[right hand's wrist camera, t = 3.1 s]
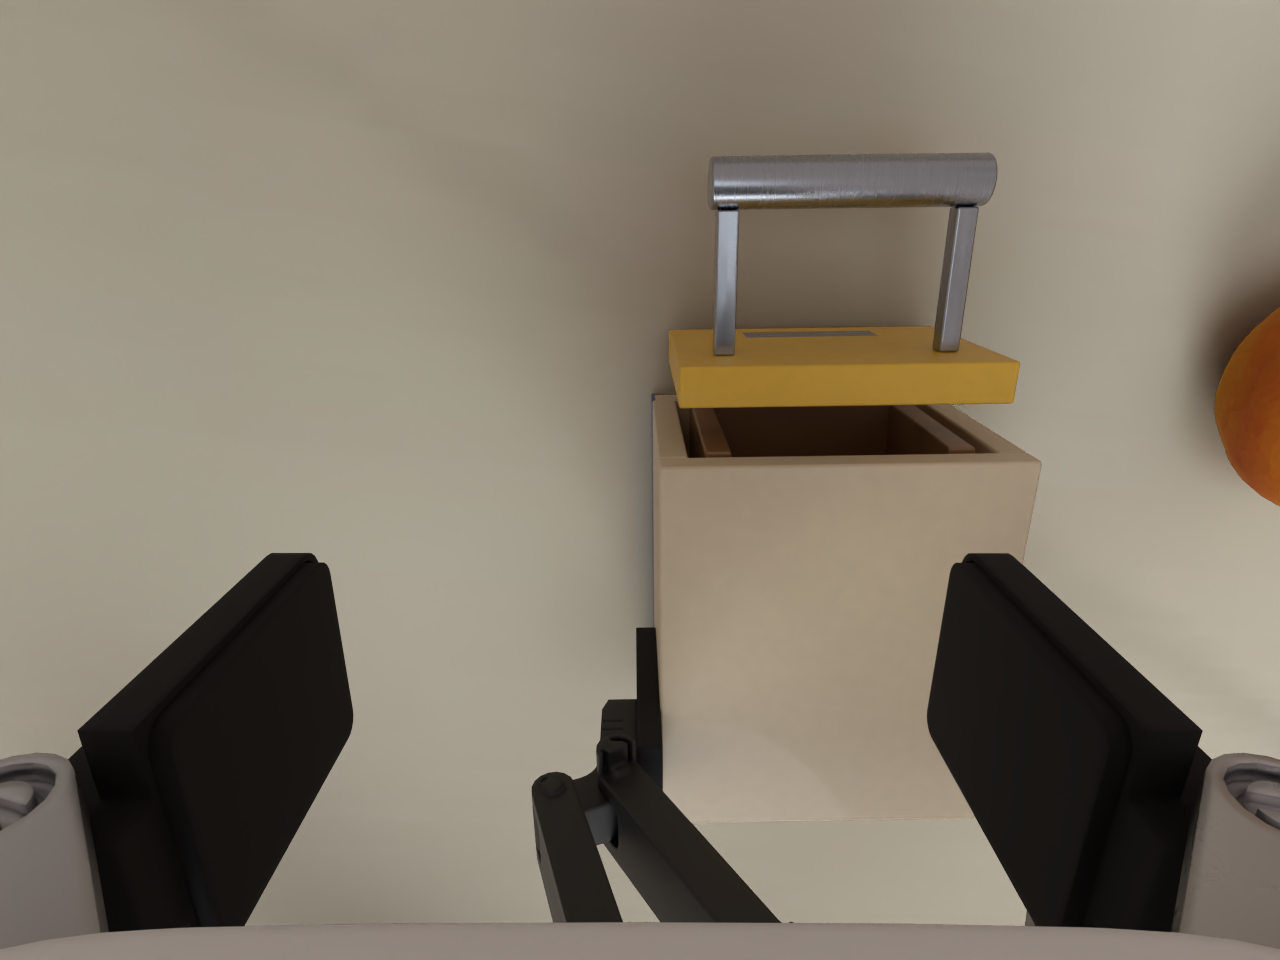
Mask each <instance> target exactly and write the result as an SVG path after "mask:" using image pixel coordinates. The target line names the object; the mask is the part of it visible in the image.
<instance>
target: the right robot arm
mask: <svg viewBox="0 0 1280 960" xmlns="http://www.w3.org/2000/svg"><path fill="white" fill-rule="evenodd" d="M352 724H353V708H352V702H351V696H350V690H349V684H348V678H347V672H346V666H345V660H344V654H343V648H342V641H341V635H340V629H339V623H338V617H337V611H336V605H335V599H334V593H333V587H332V581H331V575H330V571H329V568H328V566H327V564H325V563H318V561H317V559H316V557H315V556H314V555H313V554H312V553H271V554H269V555H268V556H266V557H265V558H264V559H263V560H262V561H261V562H260V563H259V564H258V565H257V566H255V567H254V568H253V569H252V570H251V571H250V572H249V573H248V574H247V575H246V576H245V577H244V578H242V579H241V580H240V581H239V582H238V583H237V584H236V585H235V586H234V587H233V588H232V589H231V590H229V591H228V592H227V593H226V594H225V595H224V596H223V597H222V598H221V599H220V600H219V601H218V602H216V603H215V604H214V605H213V606H212V607H211V608H210V609H209V610H208V611H207V612H206V613H205V614H203V615H202V616H201V617H200V618H199V619H198V620H197V621H196V622H195V623H194V624H193V625H191V626H190V627H189V628H188V629H187V630H186V631H185V632H184V633H183V634H182V635H181V636H180V637H178V638H177V639H176V640H175V641H174V642H173V643H172V644H171V645H170V646H169V647H168V648H167V649H165V650H164V651H163V652H162V653H161V654H160V655H159V656H158V657H157V658H156V659H155V660H154V661H152V662H151V663H150V664H149V665H148V666H147V667H146V668H145V669H144V670H143V671H142V672H141V673H139V674H138V675H137V676H136V677H135V678H134V679H133V680H132V681H131V682H130V683H129V684H127V685H126V686H125V687H124V688H123V689H122V690H121V691H120V692H119V693H118V694H117V695H116V696H114V697H113V698H112V699H111V700H110V701H109V702H108V703H107V704H106V705H105V706H104V707H103V708H101V709H100V710H99V711H98V712H97V713H96V714H95V715H94V716H93V717H92V718H91V719H90V720H88V721H87V722H86V723H85V724H84V725H83V726H82V727H81V728H80V729H79V730H78V734H79V737H80V740H81V743H82V747H81V748H80V749H79V750H78V751H76V752H75V753H74V754H73V755H72V756H71V757H70V758H69V759H66V758H63V757H61V756H59V755H56V754H46V753H32V754H25V755H18V756H12V757H8V758H5V759H1V760H0V960H1280V760H1279V759H1275V758H1272V757H1268V756H1262V755H1255V754H1248V753H1234V754H1224V755H1221V756H1219V757H1217V758H1214V759H1211V758H1210V757H1209V756H1208V755H1207V754H1206V753H1205V752H1204V751H1202V750H1201V749H1200V748H1199V747H1198V743H1199V740H1200V737H1201V734H1202V730H1201V729H1200V728H1199V727H1198V726H1197V725H1196V724H1195V723H1194V722H1193V721H1192V720H1190V719H1189V718H1188V717H1187V716H1186V715H1185V714H1184V713H1183V712H1182V711H1181V710H1180V709H1179V708H1177V707H1176V706H1175V705H1174V704H1173V703H1172V702H1171V701H1170V700H1169V699H1168V698H1167V697H1166V696H1164V695H1163V694H1162V693H1161V692H1160V691H1159V690H1158V689H1157V688H1156V687H1155V686H1154V685H1153V684H1151V683H1150V682H1149V681H1148V680H1147V679H1146V678H1145V677H1144V676H1143V675H1142V674H1141V673H1139V672H1138V671H1137V670H1136V669H1135V668H1134V667H1133V666H1132V665H1131V664H1130V663H1129V662H1128V661H1126V660H1125V659H1124V658H1123V657H1122V656H1121V655H1120V654H1119V653H1118V652H1117V651H1116V650H1115V649H1113V648H1112V647H1111V646H1110V645H1109V644H1108V643H1107V642H1106V641H1105V640H1104V639H1103V638H1102V637H1100V636H1099V635H1098V634H1097V633H1096V632H1095V631H1094V630H1093V629H1092V628H1091V627H1090V626H1089V625H1087V624H1086V623H1085V622H1084V621H1083V620H1082V619H1081V618H1080V617H1079V616H1078V615H1077V614H1075V613H1074V612H1073V611H1072V610H1071V609H1070V608H1069V607H1068V606H1067V605H1066V604H1065V603H1064V602H1062V601H1061V600H1060V599H1059V598H1058V597H1057V596H1056V595H1055V594H1054V593H1053V592H1052V591H1051V590H1049V589H1048V588H1047V587H1046V586H1045V585H1044V584H1043V583H1042V582H1041V581H1040V580H1039V579H1038V578H1036V577H1035V576H1034V575H1033V574H1032V573H1031V572H1030V571H1029V570H1028V569H1027V568H1026V567H1025V566H1023V565H1022V564H1021V563H1020V562H1019V561H1018V560H1017V559H1016V558H1015V557H1014V556H1012V555H1011V554H1009V553H968V554H967V555H966V556H965V557H964V559H963V561H962V563H955V564H953V566H952V568H951V571H950V575H949V581H948V587H947V593H946V599H945V605H944V611H943V617H942V623H941V629H940V635H939V641H938V648H937V654H936V660H935V666H934V672H933V678H932V684H931V690H930V696H929V702H928V708H927V724H928V729H929V733H930V736H931V738H932V740H933V742H934V743H935V745H936V747H937V749H938V751H939V752H940V754H941V756H942V758H943V760H944V761H945V763H946V765H947V767H948V769H949V770H950V772H951V774H952V776H953V778H954V779H955V781H956V783H957V785H958V787H959V788H960V790H961V792H962V794H963V796H964V798H965V799H966V801H967V803H968V805H969V807H970V808H971V810H972V812H973V814H974V816H975V817H976V819H977V821H978V823H979V825H980V826H981V828H982V830H983V832H984V834H985V835H986V837H987V839H988V841H989V843H990V844H991V846H992V848H993V850H994V852H995V853H996V855H997V857H998V859H999V861H1000V862H1001V864H1002V866H1003V868H1004V870H1005V871H1006V873H1007V875H1008V877H1009V879H1010V881H1011V882H1012V884H1013V886H1014V888H1015V890H1016V891H1017V893H1018V895H1019V897H1020V899H1021V900H1022V902H1023V904H1024V906H1025V908H1026V909H1027V911H1028V913H1029V915H1030V917H1031V918H1032V920H1033V922H1034V924H1035V926H992V925H943V924H875V923H676V922H605V923H405V924H337V925H288V926H245V924H246V922H247V920H248V918H249V917H250V915H251V913H252V911H253V909H254V908H255V906H256V904H257V902H258V900H259V899H260V897H261V895H262V893H263V891H264V890H265V888H266V886H267V884H268V882H269V881H270V879H271V877H272V875H273V873H274V871H275V870H276V868H277V866H278V864H279V862H280V861H281V859H282V857H283V855H284V853H285V852H286V850H287V848H288V846H289V844H290V843H291V841H292V839H293V837H294V835H295V834H296V832H297V830H298V828H299V826H300V825H301V823H302V821H303V819H304V817H305V816H306V814H307V812H308V810H309V808H310V807H311V805H312V803H313V801H314V799H315V798H316V796H317V794H318V792H319V790H320V788H321V787H322V785H323V783H324V781H325V779H326V778H327V776H328V774H329V772H330V770H331V769H332V767H333V765H334V763H335V761H336V760H337V758H338V756H339V754H340V752H341V751H342V749H343V747H344V745H345V743H346V742H347V740H348V738H349V736H350V733H351V729H352Z"/></svg>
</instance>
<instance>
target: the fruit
mask: <svg viewBox="0 0 1280 960" xmlns="http://www.w3.org/2000/svg"><path fill="white" fill-rule="evenodd" d="M1214 411H1215V419H1216V423H1217V427H1218V430H1219V433H1220V436H1221V440H1222V442H1223V445H1224V447H1225V450H1226V454H1227V457H1228V459H1229V461H1230V463H1231V465H1232V466H1233V468H1234V469H1235V471H1236V472H1237V473H1238V475H1239V476H1240V477H1241V478H1242V479H1243V481H1245V482H1246V483H1247V484H1248V485H1249V486H1250V487H1252V488H1253V489H1254V490H1255V491H1256V492H1257V493H1258V494H1260V495H1261V496H1262V497H1264V498H1266V499H1267V500H1269V501H1271V502H1273V503H1274V504H1276V505H1278V506H1280V306H1279V307H1278V308H1277V309H1276V310H1275V311H1273V312H1272V313H1271V314H1270V315H1269V316H1268V317H1267V318H1266V319H1264V320H1263V321H1262V322H1261V323H1260V324H1259V325H1257V326H1256V327H1255V328H1254V329H1253V330H1252V331H1251V332H1250V333H1249V334H1248V335H1247V336H1246V337H1245V339H1244V340H1243V341H1242V342H1241V343H1240V344H1239V346H1238V347H1237V349H1236V350H1235V352H1234V353H1233V355H1232V357H1231V359H1230V361H1229V363H1228V364H1227V366H1226V368H1225V370H1224V373H1223V375H1222V377H1221V379H1220V381H1219V386H1218V388H1217V391H1216V395H1215V408H1214Z"/></svg>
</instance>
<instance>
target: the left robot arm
mask: <svg viewBox="0 0 1280 960" xmlns="http://www.w3.org/2000/svg"><path fill="white" fill-rule="evenodd" d="M636 650H637V699H623V700H608V702H607V703H606V705H605V706H604V708H603V709H602V722H601V738H600V741H599V743H598V744H597V749H596V755H597V767H596V768H595V769H594V770H593V771H592V772H591V773H590V774H588V775H587V776H584V777H582V778H579V779H575V780H572V778H571V777H570V776H568V775H566V774H565V773H560V772H551V773H547V774H544V775H542V776H540V777H539V778H538V779H537V780H535V782H534V784H533V786H532V802H533V816H534V828H535V840H536V849H537V860H538V864H539V868H540V872H541V876H542V880H543V884H544V888H545V892H546V896H547V900H548V904H549V908H550V912H551V916H552V920H553V923H605V922H623V921H622V918H621V915H620V912H619V910H618V907H617V904H616V901H615V898H614V895H613V892H612V889H611V887H610V884H609V881H608V878H607V875H606V872H605V869H604V866H603V864H602V861H601V858H600V855H599V852H598V849H597V846H596V845H599V844H602V843H603V844H604V845H605V846H606V848H607V849H608V850H609V852H610V853H611V855H612V856H613V857H614V859H615V860H616V861H617V863H618V864H619V866H620V867H621V868H622V870H623V871H624V872H625V874H626V875H627V877H628V878H629V879H630V881H631V882H632V883H633V885H634V886H635V888H636V889H637V890H638V892H639V893H640V894H641V896H642V897H643V899H644V900H645V901H646V903H647V904H648V905H649V907H650V908H651V910H652V911H653V912H654V914H655V915H656V916H657V918H658V919H659V921H660V922H676V923H781V922H780V921H779V920H778V919H777V918H776V917H775V916H774V914H773V913H772V912H771V911H770V910H769V909H768V908H767V907H766V906H765V904H764V903H763V902H762V901H761V900H760V899H759V898H758V897H757V895H756V894H755V893H754V892H753V891H752V890H751V889H750V888H749V887H748V885H747V884H746V883H745V882H744V881H743V880H742V879H741V878H740V877H739V875H738V874H737V873H736V872H735V871H734V870H733V869H732V868H731V866H730V865H729V864H728V863H727V862H726V861H725V860H724V859H723V858H722V856H721V855H720V854H719V853H718V852H717V851H716V850H715V849H714V848H713V846H712V845H711V844H710V843H709V842H708V841H707V840H706V839H705V837H704V836H703V835H702V834H701V833H700V832H699V831H698V830H697V829H696V827H695V826H694V825H693V824H692V823H691V822H690V821H689V820H688V819H687V817H686V816H685V815H684V814H683V813H682V812H681V811H680V810H679V808H678V807H677V806H676V805H675V804H674V803H673V802H672V801H671V800H670V798H669V797H668V796H667V795H666V794H665V793H664V792H663V742H662V724H661V710H660V698H659V679H658V661H657V642H656V627H655V628H636ZM789 923H793V922H789ZM1025 926H1035V924H1034V922H1033V920H1032V918H1031V917H1030V915H1029V913H1028V911H1027V914H1026V922H1025Z"/></svg>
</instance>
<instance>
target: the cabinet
mask: <svg viewBox="0 0 1280 960" xmlns="http://www.w3.org/2000/svg"><path fill="white" fill-rule="evenodd" d="M914 406H916V407H917V408H919V409H920V410H922V411H923V412H924V413H926V414H927V415H929V416H930V417H931V418H933V419H934V420H936V421H937V422H939V423H940V424H941V425H943V426H944V427H946V428H947V429H948V430H950V431H951V432H953V433H954V434H956V435H957V436H958V437H960V438H961V439H963V440H964V441H966V442H967V443H968V444H970V445H971V446H973V447H974V448H975V453H974V454H918V455H853V456H787V457H722V458H689V441H690V408H680V407H679V403H678V399H677V395H655V394H652V504H653V628H655V627H656V642H657V661H658V679H659V698H660V710H661V724H662V742H663V792H664V793H665V794H666V795H667V796H668V797H669V798H670V800H671V801H672V802H673V803H674V804H675V805H676V806H677V807H678V808H679V810H680V811H681V812H682V813H683V814H684V815H685V816H686V817H687V819H688V820H689V821H690V822H691V823H734V822H792V821H850V820H909V819H967V818H973V817H974V814H973V812H972V810H971V808H970V807H969V805H968V803H967V801H966V799H965V798H964V796H963V794H962V792H961V790H960V788H959V787H958V785H957V783H956V781H955V779H954V778H953V776H952V774H951V772H950V770H949V769H948V767H947V765H946V763H945V761H944V760H943V758H942V756H941V754H940V752H939V751H938V749H937V747H936V745H935V743H934V742H933V740H932V738H931V736H930V733H929V729H928V724H927V708H928V702H929V696H930V690H931V684H932V678H933V672H934V666H935V660H936V654H937V648H938V641H939V635H940V629H941V623H942V617H943V611H944V605H945V599H946V593H947V587H948V581H949V575H950V571H951V568H952V566H953V564H955V563H962V561H963V559H964V557H965V556H966V555H967V554H968V553H1009V554H1011V555H1012V556H1014V557H1015V558H1016V559H1017V560H1018V561H1019V562H1020V563H1021V564H1023V558H1024V553H1025V548H1026V543H1027V538H1028V532H1029V527H1030V522H1031V517H1032V512H1033V506H1034V501H1035V496H1036V491H1037V486H1038V480H1039V475H1040V470H1041V465H1042V464H1041V461H1039V460H1038V459H1036V458H1035V457H1033V456H1031V455H1030V454H1028V453H1025V451H1023V450H1022V449H1020V448H1018V447H1017V446H1015V445H1014V444H1012V443H1010V442H1009V441H1007V440H1006V439H1004V438H1002V437H1001V436H999V435H998V434H996V433H994V432H993V431H991V430H990V429H988V428H986V427H985V426H983V425H982V424H980V423H978V422H977V421H975V420H974V419H972V418H970V417H969V416H967V415H965V414H964V413H962V412H961V411H959V410H957V409H956V408H954V407H953V406H951V405H949V404H938V405H914Z"/></svg>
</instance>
